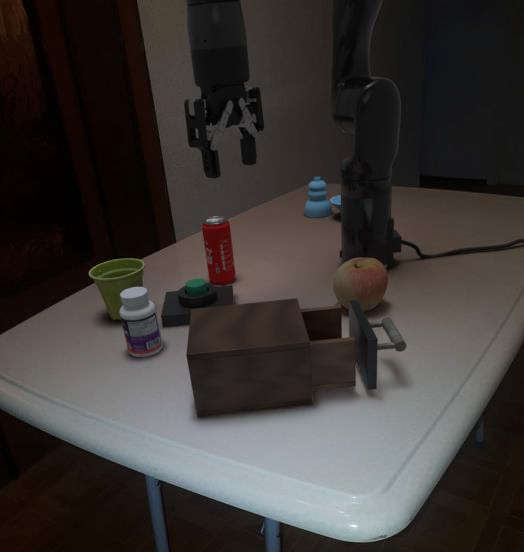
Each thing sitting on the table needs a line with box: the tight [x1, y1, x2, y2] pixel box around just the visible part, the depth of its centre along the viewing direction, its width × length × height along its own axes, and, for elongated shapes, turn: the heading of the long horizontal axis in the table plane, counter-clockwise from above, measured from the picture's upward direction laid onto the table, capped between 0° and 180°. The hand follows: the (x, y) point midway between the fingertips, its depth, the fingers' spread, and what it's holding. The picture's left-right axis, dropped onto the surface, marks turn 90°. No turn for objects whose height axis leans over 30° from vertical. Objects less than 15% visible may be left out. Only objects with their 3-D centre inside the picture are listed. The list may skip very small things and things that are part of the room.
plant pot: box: [88, 257, 146, 321], centre depth 96 cm, size 9×9×9 cm
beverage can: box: [201, 215, 236, 286], centre depth 105 cm, size 5×5×12 cm
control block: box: [160, 282, 235, 328], centre depth 96 cm, size 12×10×4 cm
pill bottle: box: [120, 286, 164, 358], centre depth 84 cm, size 5×5×10 cm
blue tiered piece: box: [304, 176, 341, 219], centre depth 137 cm, size 18×10×9 cm, turn 56°
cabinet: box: [185, 297, 314, 418], centre depth 73 cm, size 15×13×9 cm
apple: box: [332, 258, 389, 313], centre depth 91 cm, size 9×9×8 cm
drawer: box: [300, 300, 408, 392], centre depth 73 cm, size 18×11×7 cm, turn 94°
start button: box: [184, 278, 208, 295], centre depth 95 cm, size 4×4×2 cm
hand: (232, 170), depth 81 cm, fingers open, 8 cm apart
